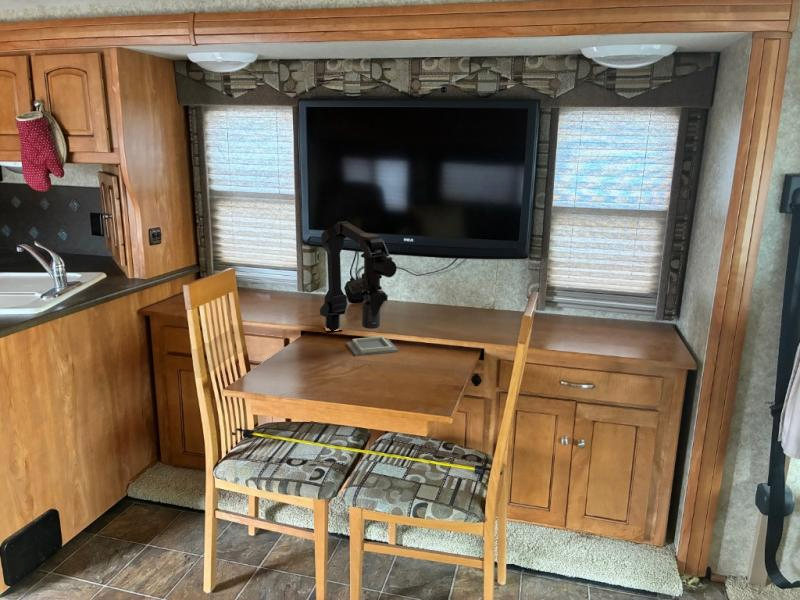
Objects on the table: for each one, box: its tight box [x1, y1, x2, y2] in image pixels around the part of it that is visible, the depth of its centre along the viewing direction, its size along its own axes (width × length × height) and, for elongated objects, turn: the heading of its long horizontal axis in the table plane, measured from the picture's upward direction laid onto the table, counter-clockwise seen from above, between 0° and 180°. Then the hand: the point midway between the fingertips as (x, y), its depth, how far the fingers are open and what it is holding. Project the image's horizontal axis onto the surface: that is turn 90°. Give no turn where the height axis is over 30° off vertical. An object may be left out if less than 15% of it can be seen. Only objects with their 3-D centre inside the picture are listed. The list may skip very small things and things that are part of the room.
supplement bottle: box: [361, 293, 382, 330], centre depth 217 cm, size 7×7×12 cm
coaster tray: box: [346, 336, 399, 357], centre depth 221 cm, size 12×16×2 cm
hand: (371, 314), depth 218 cm, fingers closed on supplement bottle, 7 cm apart
